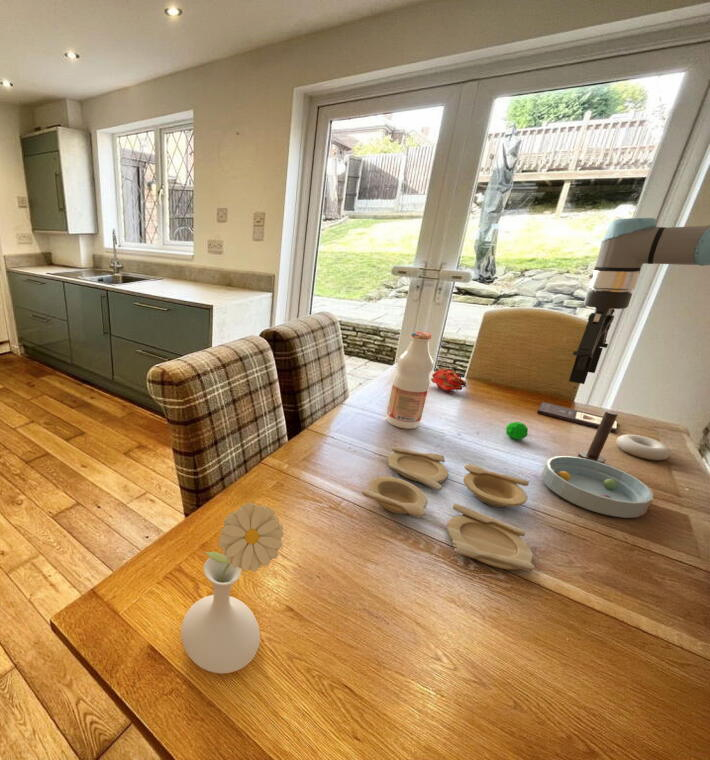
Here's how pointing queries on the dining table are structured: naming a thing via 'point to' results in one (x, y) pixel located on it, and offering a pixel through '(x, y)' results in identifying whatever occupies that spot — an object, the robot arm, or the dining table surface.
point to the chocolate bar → (573, 415)
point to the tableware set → (459, 507)
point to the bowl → (597, 487)
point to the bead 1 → (564, 475)
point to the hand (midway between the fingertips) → (582, 376)
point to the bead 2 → (610, 484)
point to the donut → (643, 447)
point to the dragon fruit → (448, 380)
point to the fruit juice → (411, 383)
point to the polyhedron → (516, 430)
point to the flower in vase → (221, 611)
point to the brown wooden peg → (600, 438)
